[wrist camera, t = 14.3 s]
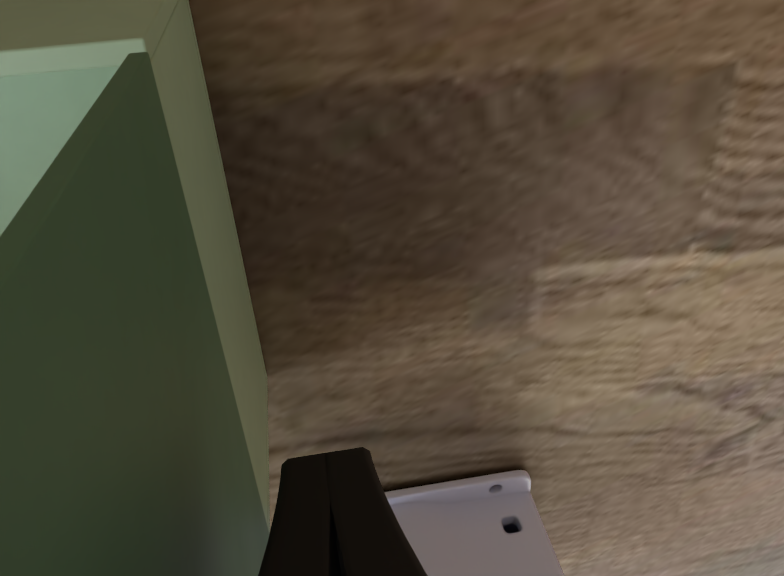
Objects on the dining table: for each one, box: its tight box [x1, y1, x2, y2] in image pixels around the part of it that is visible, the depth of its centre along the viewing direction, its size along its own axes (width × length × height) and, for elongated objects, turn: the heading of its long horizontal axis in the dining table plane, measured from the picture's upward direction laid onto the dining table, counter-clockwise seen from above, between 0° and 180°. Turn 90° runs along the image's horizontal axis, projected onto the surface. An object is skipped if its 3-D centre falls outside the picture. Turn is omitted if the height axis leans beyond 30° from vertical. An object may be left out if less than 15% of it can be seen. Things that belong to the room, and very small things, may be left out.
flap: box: [0, 52, 269, 576], centre depth 10 cm, size 8×13×1 cm
